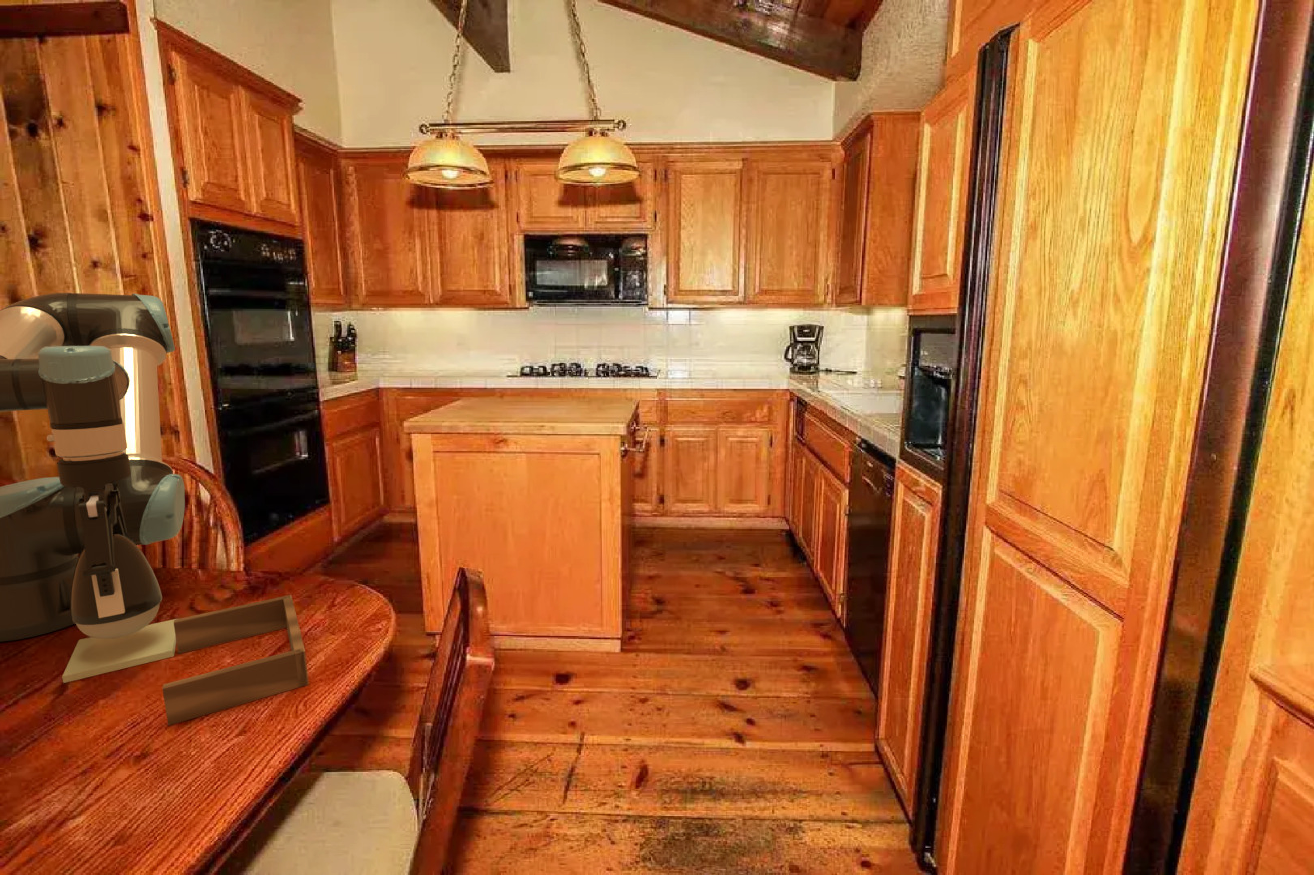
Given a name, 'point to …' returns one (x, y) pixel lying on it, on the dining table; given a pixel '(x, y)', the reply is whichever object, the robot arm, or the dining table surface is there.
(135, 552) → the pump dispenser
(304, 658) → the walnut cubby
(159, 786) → the dining table surface
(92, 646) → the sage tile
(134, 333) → the robot arm
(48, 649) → the dining table surface
